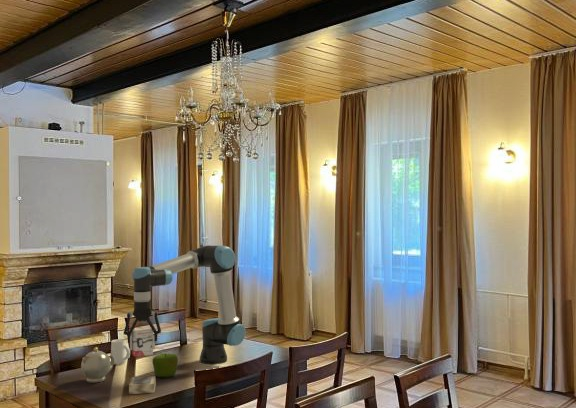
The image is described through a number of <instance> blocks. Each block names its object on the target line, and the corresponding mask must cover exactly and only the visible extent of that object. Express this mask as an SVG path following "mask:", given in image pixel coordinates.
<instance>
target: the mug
mask: <svg viewBox="0 0 576 408" xmlns="http://www.w3.org/2000/svg"><path fill="white" fill-rule="evenodd" d="M110 350H111V351H110V354H111V355H112V356H113V358H114V365H122V364H126V363H127V360H128V359H129V358H130V356H131V350H130V346H128V345H127V339H124V338H118V339H112V340H111V346H110Z"/></svg>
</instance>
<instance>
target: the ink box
mask: <svg viewBox="0 0 576 408" xmlns="http://www.w3.org/2000/svg"><path fill="white" fill-rule="evenodd" d="M153 334H154V332H153V331H152V329H151V327H143V328H134V329H133V331H132V333H131V335H132V350H131V355H132V356H133V357H134V358H139V357H145V356H146V357H147V356H151V355H152V356H153V355H154V349H153Z"/></svg>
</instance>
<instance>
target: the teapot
mask: <svg viewBox="0 0 576 408" xmlns="http://www.w3.org/2000/svg"><path fill="white" fill-rule="evenodd" d="M114 365H115V364H114V358H113V356H112V355H111V353H106V352H104V351H101V350H99V348H98V347H97V346H95V347H93V350H92V351H90V352H88V353H87V354H86V355H85V356H84V357H82V360H81V365H80V368H81V371H82V374H83V375H84V376H85V377H86V382H87V383H89V384H97V383H98V382H99V383H103V382H104V381H105V380H106V375H108V373H109V372H110V371H112V370H113V368H114ZM99 383H98V384H99Z"/></svg>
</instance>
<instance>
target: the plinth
mask: <svg viewBox="0 0 576 408" xmlns="http://www.w3.org/2000/svg"><path fill="white" fill-rule="evenodd" d="M156 376H157V375H149V376H148V375H146V376H134V377H133V376H132V377H131V379H130V381H129V384H128V394H129V395H136V394H137V395H139V394H154V393H155V390H156V385H157V381H156V380H157V379H156Z"/></svg>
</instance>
